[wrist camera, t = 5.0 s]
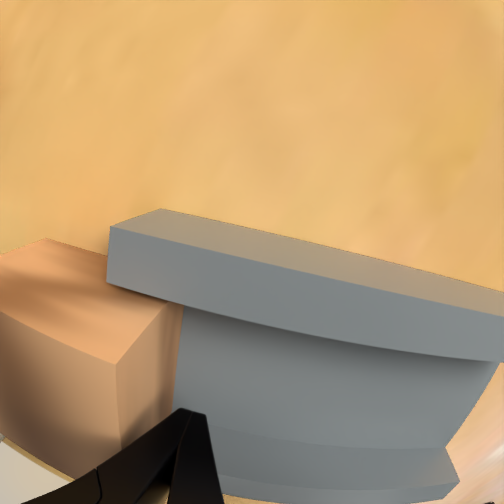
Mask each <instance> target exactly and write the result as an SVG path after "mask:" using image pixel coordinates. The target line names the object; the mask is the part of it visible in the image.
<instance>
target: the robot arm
mask: <svg viewBox="0 0 504 504" xmlns="http://www.w3.org/2000/svg"><path fill="white" fill-rule="evenodd" d="M96 469H97V470H96ZM96 469H95V468H94V469H92V470H91V471H89V472H88V473H86V474H85V475H83V476H81V477H80V478H78V479H76V480H74V481H73V482H71V483H69V484H67V485H65V486H63V487H61V488H58V489H56V490H54V491H52V492H49V493H47V494H45V495H42V496H39V497H37V498H34V499H32V500H29V501H27V502H24V503H21V504H164V503H165V501H166V499H167V497H168V501H167V504H224V500H223V495H222V491H221V486H220V482H219V477H218V472H217V468H216V463H215V458H214V453H213V448H212V443H211V437H210V432H209V427H208V421H207V416H206V415H205V414H203V413H199V412H196V411H192V410H189V409H185V408H182V407H180V408H178V409H177V410H175V411H174V412H173V413H171V414H170V415H169V416H167V417H166V418H165V419H163V420H162V421H161V422H159V423H158V424H157V425H155V426H154V427H153V428H151V429H150V430H149V431H147V432H146V433H144V434H143V435H142V436H140V437H139V438H138V439H136V440H135V441H133V442H132V443H130V444H129V445H128V446H126V447H125V448H123V449H122V450H121V451H119V452H118V453H116V454H115V455H113V456H112V457H110V458H109V459H107V460H106V461H104V462H103V463H101V464H100V465H98V466H97V467H96ZM489 504H494V502H492V503H489Z"/></svg>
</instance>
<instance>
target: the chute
mask: <svg viewBox="0 0 504 504" xmlns="http://www.w3.org/2000/svg"><path fill="white" fill-rule="evenodd" d="M106 282H107V283H111V284H114V285H117V286H120V287H124V288H127V289H130V290H133V291H137V292H140V293H144V294H147V295H150V296H154V297H157V298H161V299H164V300H168V301H172V302H175V303H179V304H183V305H184V311H183V318H182V326H181V333H180V341H179V349H178V357H177V366H176V375H175V385H174V394H173V405H172V411H171V413H173V412H174V411H175V410H177V409H178V408H180V407H182V408H185V409H189V410H192V411H196V412H199V413H203V414H205V415H206V416H207V421H208V427H209V432H210V437H211V443H212V448H213V453H214V458H215V463H216V468H217V472H218V477H219V482H220V486H221V491H222V494H226V495H231V496H236V497H242V498H247V499H253V500H260V501H267V502H275V503H283V504H411V503H419V502H426V501H433V500H439V499H443V498H444V497H445V496H446V495H447V494H448V493H449V492H450V491H451V490H452V489H453V488H454V487H455V486H456V485H457V484H458V483H459V482H460V480H459V478H458V475H457V473H456V471H455V468H454V466H453V464H452V462H451V459H450V457H449V455H448V453H447V451H446V448H445V447H446V445H447V444H448V443H449V441H450V440H451V439H452V437H453V436H454V435H455V433H456V432H457V431H458V429H459V428H460V426H461V425H462V424H463V422H464V421H465V419H466V418H467V416H468V415H469V413H470V412H471V410H472V409H473V407H474V406H475V404H476V403H477V401H478V400H479V398H480V396H481V395H482V393H483V392H484V390H485V388H486V387H487V385H488V383H489V381H490V380H491V378H492V376H493V374H494V373H495V371H496V369H497V367H498V365H499V363H500V362H503V363H504V293H503V292H500V291H496V290H493V289H489V288H485V287H482V286H478V285H474V284H471V283H467V282H464V281H460V280H456V279H452V278H449V277H445V276H441V275H437V274H434V273H430V272H426V271H422V270H419V269H415V268H411V267H407V266H403V265H399V264H395V263H391V262H388V261H384V260H380V259H376V258H372V257H368V256H364V255H360V254H356V253H352V252H348V251H344V250H340V249H336V248H331V247H327V246H323V245H319V244H315V243H311V242H307V241H302V240H298V239H294V238H290V237H286V236H281V235H277V234H273V233H268V232H264V231H260V230H256V229H251V228H247V227H242V226H238V225H234V224H229V223H225V222H220V221H216V220H211V219H207V218H202V217H198V216H193V215H189V214H184V213H179V212H175V211H170V210H165V209H158V210H155V211H152V212H149V213H146V214H143V215H140V216H138V217H135V218H132V219H129V220H126V221H123V222H121V223H118V224H115V225H112V226H110V235H109V247H108V261H107V279H106ZM171 413H170V414H171Z"/></svg>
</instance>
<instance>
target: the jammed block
mask: <svg viewBox="0 0 504 504" xmlns="http://www.w3.org/2000/svg"><path fill="white" fill-rule="evenodd" d="M107 261H108V256H105V255H101V254H98V253H94V252H91V251H87V250H84V249H81V248H77V247H74V246H71V245H67V244H64V243H61V242H57V241H54V240H51V239H48V238H45V239H42V240H39V241H37V242H34V243H31V244H28V245H26V246H23V247H20V248H18V249H15V250H12V251H10V252H7V253H5V254H2V255H0V433H1V434H2V435H4V436H5V437H7V438H8V439H9V440H11V441H12V442H14V443H15V444H17V445H18V446H19V447H21V448H22V449H24V450H26V451H27V452H29V453H30V454H32V455H33V456H35V457H37V458H38V459H40V460H41V461H43V462H45V463H46V464H48V465H50V466H52V467H53V468H55V469H57V470H59V471H61V472H62V473H64V474H66V475H68V476H70V477H72V478H74V479H78V478H80V477H81V476H83V475H85V474H86V473H88V472H89V471H91V470H92V469H94V468H95V469H96V467H97V466H98V465H100V464H101V463H103V462H104V461H106V460H107V459H109V458H110V457H112V456H113V455H115V454H116V453H118V452H119V451H121V450H122V449H123V448H125V447H126V446H128V445H129V444H130V443H132V442H133V441H135V440H136V439H138V438H139V437H140V436H142V435H143V434H144V433H146V432H147V431H149V430H150V429H151V428H153V427H154V426H155V425H157V424H158V423H159V422H161V421H162V420H163V419H165V418H166V417H167V416H169V415H170V413H171V411H172V405H173V394H174V385H175V375H176V366H177V357H178V349H179V341H180V333H181V326H182V318H183V311H184V305H183V304H179V303H175V302H172V301H168V300H164V299H161V298H157V297H154V296H150V295H147V294H144V293H140V292H137V291H133V290H130V289H127V288H124V287H120V286H117V285H114V284H111V283H107V282H106V279H107ZM96 470H97V469H96Z"/></svg>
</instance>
